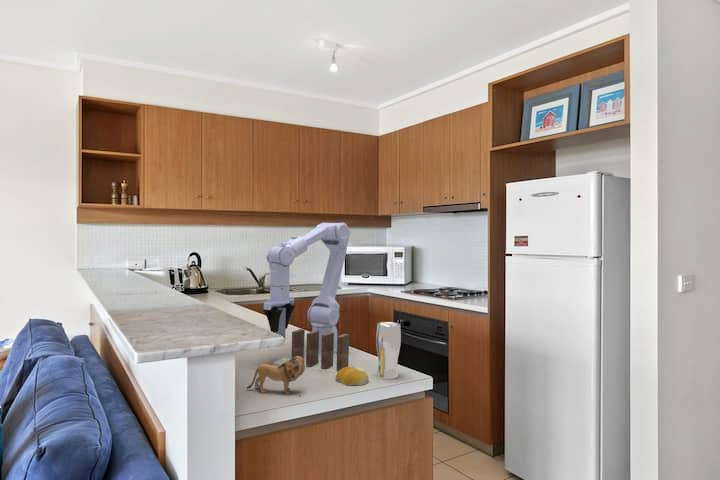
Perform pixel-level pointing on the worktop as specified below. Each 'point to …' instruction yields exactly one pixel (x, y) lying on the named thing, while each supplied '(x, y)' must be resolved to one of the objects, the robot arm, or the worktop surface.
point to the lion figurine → (279, 373)
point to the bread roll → (352, 376)
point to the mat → (317, 367)
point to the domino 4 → (327, 350)
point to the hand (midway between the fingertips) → (279, 330)
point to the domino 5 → (342, 351)
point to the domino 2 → (298, 343)
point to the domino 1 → (282, 323)
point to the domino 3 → (312, 348)
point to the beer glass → (388, 349)
